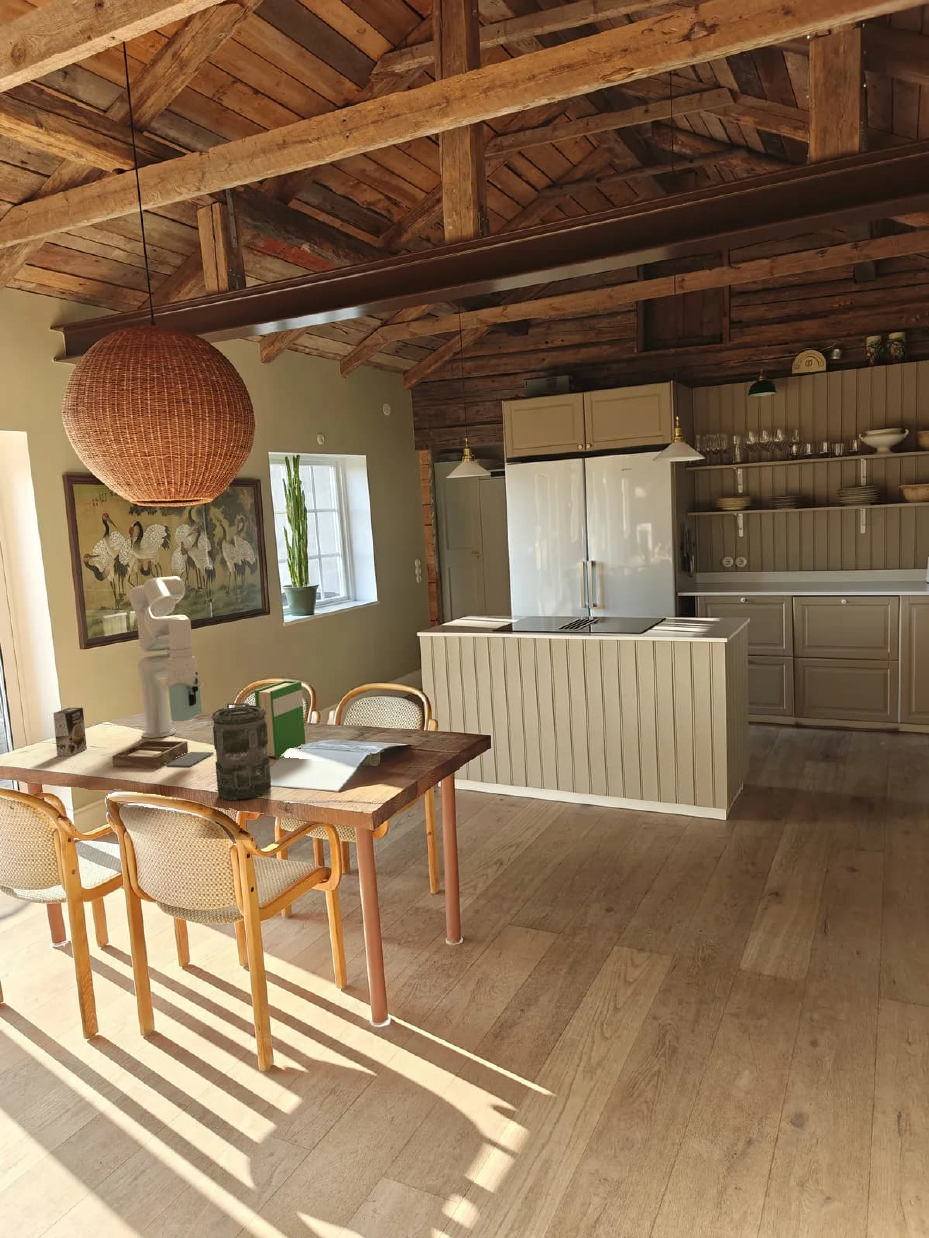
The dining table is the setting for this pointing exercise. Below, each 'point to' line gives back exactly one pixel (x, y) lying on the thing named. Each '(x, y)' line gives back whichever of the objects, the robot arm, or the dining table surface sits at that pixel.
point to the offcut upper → (145, 753)
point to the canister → (241, 751)
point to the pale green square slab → (183, 703)
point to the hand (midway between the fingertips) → (186, 704)
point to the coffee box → (70, 731)
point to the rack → (168, 753)
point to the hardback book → (282, 715)
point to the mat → (189, 759)
